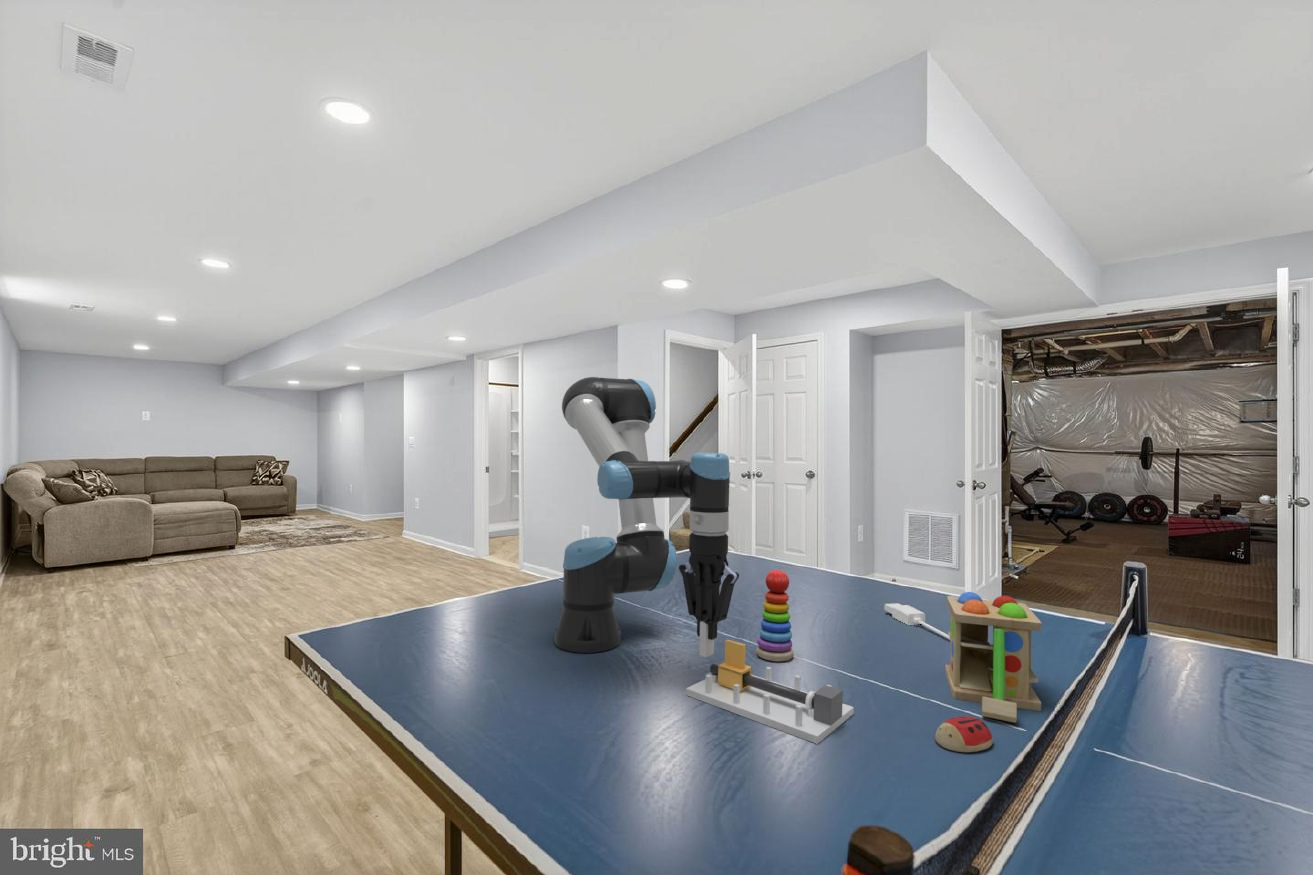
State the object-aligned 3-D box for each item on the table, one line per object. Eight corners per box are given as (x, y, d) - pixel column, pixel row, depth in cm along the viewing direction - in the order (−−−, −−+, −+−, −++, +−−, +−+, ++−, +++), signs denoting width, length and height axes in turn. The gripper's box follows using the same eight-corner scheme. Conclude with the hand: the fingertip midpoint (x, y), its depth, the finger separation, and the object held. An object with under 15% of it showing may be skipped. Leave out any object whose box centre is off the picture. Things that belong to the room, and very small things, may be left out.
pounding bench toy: (1055, 734, 99) (1057, 625, 99) (959, 718, 104) (961, 615, 104) (1023, 681, 121) (1025, 592, 121) (944, 671, 126) (946, 585, 126)
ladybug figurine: (924, 739, 97) (924, 717, 97) (968, 728, 101) (968, 707, 101) (960, 760, 91) (960, 736, 91) (1005, 748, 95) (1005, 725, 95)
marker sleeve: (718, 683, 113) (718, 641, 113) (728, 678, 116) (729, 636, 116) (740, 691, 110) (741, 648, 110) (751, 685, 113) (752, 643, 113)
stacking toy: (793, 664, 127) (795, 575, 127) (755, 661, 129) (757, 573, 129) (793, 651, 135) (794, 568, 135) (756, 648, 137) (758, 565, 137)
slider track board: (685, 694, 111) (686, 664, 111) (728, 673, 122) (729, 645, 122) (817, 744, 94) (818, 708, 94) (853, 713, 105) (854, 681, 105)
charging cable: (968, 660, 135) (968, 645, 135) (882, 612, 166) (883, 600, 166) (987, 659, 136) (988, 644, 136) (899, 612, 168) (899, 600, 167)
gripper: (670, 530, 118) (668, 651, 118) (725, 538, 110) (723, 668, 110) (693, 527, 124) (691, 641, 124) (748, 534, 116) (745, 657, 116)
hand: (706, 654), depth 117 cm, fingers closed
